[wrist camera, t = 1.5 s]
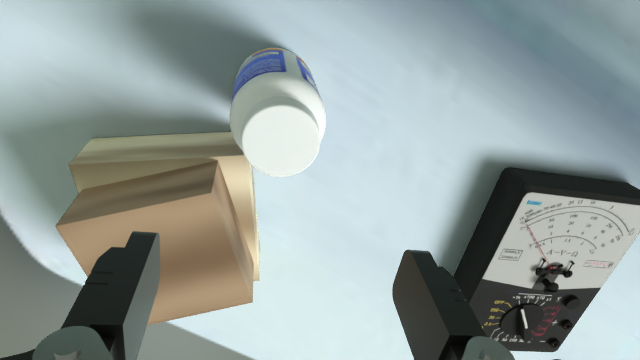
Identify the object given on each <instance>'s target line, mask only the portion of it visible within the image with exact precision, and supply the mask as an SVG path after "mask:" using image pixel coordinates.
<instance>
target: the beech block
mask: <svg viewBox="0 0 640 360" xmlns="http://www.w3.org/2000/svg"><path fill="white" fill-rule="evenodd" d="M214 161H218V162H219V165H220V167H221V170H222V173H223V176H224V179H225V182H226V185H227V187H228V190H229V193H230V196H231V199H232V202H233V205H234V208H235V210H236V213H237V216H238V219H239V222H240V225H241V228H242V231H243V233H244V236H245V239H246V242H247V245H248V248H249V251H250V253H251V256H252V259H253V262H254V271H253V281H259V276H260V244H259V233H258V223H257V213H256V203H255V192H254V182H253V172H252V165H251V164H250V163H249V162H248V160H247V159H246V157H245V155H244V153H243V151H242V150H241V149H240V147H239V146H238V145H237V143H236V141H235V140H234V137H233V135H232V132H212V133H192V134H171V135H151V136H130V137H110V138H91V140H90V141H89V142H88V143H87V144H86V145H85V146H84V148H83V149H82V150H81V151H80V152H79V153H78V154H77V156H76V157H75V158H74V159H73V160H72V161H71V162H70V164H69V167H70V170H71V173H72V176H73V179H74V182H75V185H76V187H77V190H78V193H80V192H81V190H83V189H87V188H92V187H97V186H101V185H106V184H111V183H115V182H120V181H125V180H129V179H134V178H139V177H144V176H148V175H153V174H158V173H162V172H167V171H172V170H176V169H181V168H186V167H190V166H195V165H200V164H204V163H209V162H214Z"/></svg>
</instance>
